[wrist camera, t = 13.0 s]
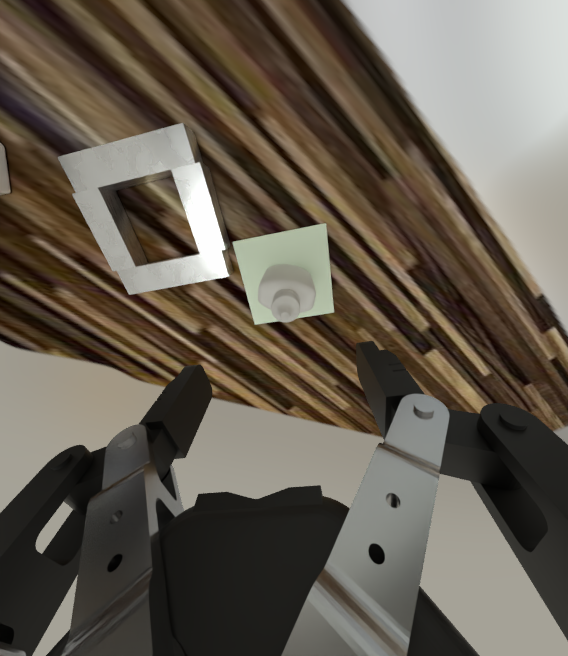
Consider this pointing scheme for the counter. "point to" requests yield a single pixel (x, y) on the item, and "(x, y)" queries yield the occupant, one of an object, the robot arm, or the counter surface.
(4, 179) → the jar
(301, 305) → the eye dropper bottle
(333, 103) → the counter surface
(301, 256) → the sage mat
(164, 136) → the collar block
